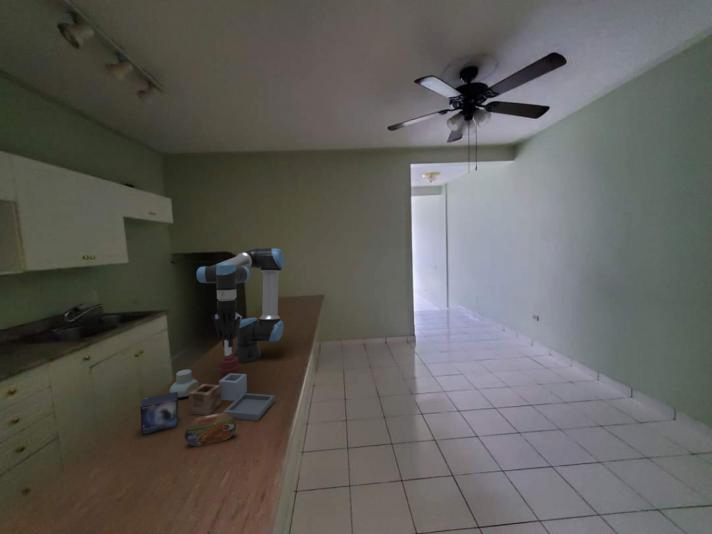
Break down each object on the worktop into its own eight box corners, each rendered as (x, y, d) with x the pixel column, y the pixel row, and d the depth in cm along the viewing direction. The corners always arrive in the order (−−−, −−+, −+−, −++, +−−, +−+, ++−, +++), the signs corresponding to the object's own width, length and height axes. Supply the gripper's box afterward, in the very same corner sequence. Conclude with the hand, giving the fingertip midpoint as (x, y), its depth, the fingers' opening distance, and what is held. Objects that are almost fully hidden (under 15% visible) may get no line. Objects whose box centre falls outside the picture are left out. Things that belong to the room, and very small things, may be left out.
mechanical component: (227, 389, 127) (213, 384, 132) (245, 380, 136) (231, 376, 141) (226, 362, 127) (212, 358, 131) (244, 355, 135) (230, 352, 140)
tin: (184, 448, 89) (183, 423, 88) (187, 442, 92) (186, 417, 91) (236, 438, 93) (235, 414, 93) (237, 433, 96) (236, 409, 96)
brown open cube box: (203, 402, 116) (203, 383, 116) (221, 404, 115) (220, 385, 115) (189, 413, 108) (188, 393, 108) (208, 415, 107) (207, 394, 107)
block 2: (230, 390, 126) (229, 373, 126) (246, 391, 125) (246, 374, 125) (219, 399, 118) (218, 381, 118) (236, 401, 117) (236, 382, 117)
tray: (243, 398, 119) (243, 393, 119) (274, 401, 117) (274, 395, 117) (223, 418, 105) (223, 411, 105) (258, 421, 103) (258, 414, 103)
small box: (140, 436, 95) (139, 406, 94) (144, 426, 100) (143, 397, 100) (177, 427, 100) (176, 398, 99) (179, 418, 105) (178, 390, 105)
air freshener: (186, 387, 129) (185, 366, 129) (202, 389, 128) (201, 367, 127) (166, 399, 119) (165, 376, 118) (182, 401, 117) (181, 378, 116)
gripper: (206, 300, 115) (208, 357, 116) (236, 301, 113) (237, 358, 114) (218, 297, 123) (219, 350, 124) (246, 298, 121) (247, 352, 122)
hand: (228, 354), depth 119 cm, fingers closed
